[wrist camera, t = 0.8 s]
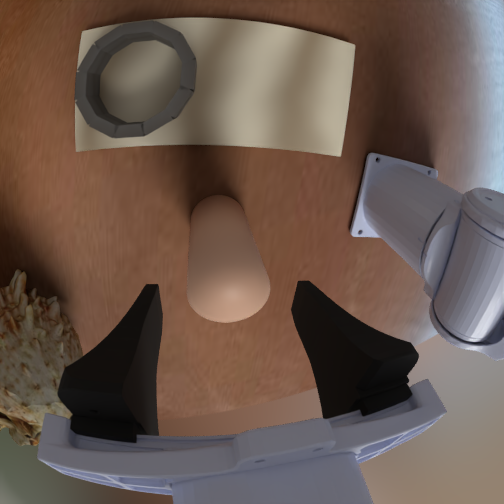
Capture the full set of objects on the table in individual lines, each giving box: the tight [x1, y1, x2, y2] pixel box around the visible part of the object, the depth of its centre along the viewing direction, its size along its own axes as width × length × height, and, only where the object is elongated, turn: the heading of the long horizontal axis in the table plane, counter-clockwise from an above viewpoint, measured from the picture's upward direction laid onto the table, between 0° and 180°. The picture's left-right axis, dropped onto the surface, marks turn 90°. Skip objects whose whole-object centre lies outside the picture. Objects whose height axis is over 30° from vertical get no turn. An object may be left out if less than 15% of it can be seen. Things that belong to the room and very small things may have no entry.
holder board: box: [75, 18, 355, 157], centre depth 14 cm, size 20×10×4 cm, turn 85°
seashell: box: [0, 269, 83, 446], centre depth 16 cm, size 18×18×15 cm
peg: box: [187, 195, 270, 322], centre depth 18 cm, size 4×4×9 cm
